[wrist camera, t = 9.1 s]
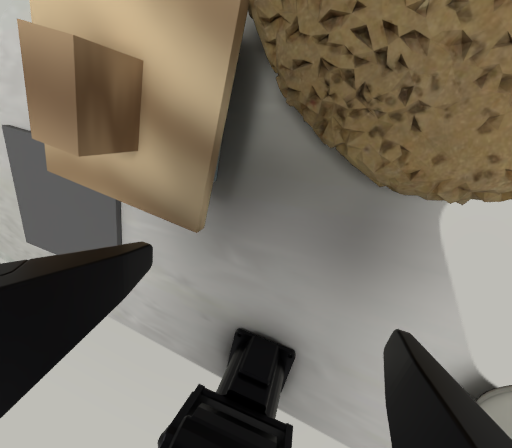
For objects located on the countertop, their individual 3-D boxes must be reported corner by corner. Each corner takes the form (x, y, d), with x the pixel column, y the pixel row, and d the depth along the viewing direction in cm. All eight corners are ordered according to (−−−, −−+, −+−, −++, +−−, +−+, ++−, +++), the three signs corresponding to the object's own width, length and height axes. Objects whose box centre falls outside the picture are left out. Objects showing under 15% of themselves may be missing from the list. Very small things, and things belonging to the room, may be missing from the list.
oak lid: (204, 227, 17) (157, 261, 13) (60, 168, 19) (-23, 180, 15) (250, -4, 12) (197, -88, 7) (43, -50, 14) (-96, -136, 9)
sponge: (232, -21, 17) (335, 249, 17) (169, -209, 9) (359, 289, 9) (438, -153, 14) (560, 175, 14) (602, -595, 6) (867, 143, 6)
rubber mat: (122, 277, 28) (118, 279, 28) (31, 240, 31) (26, 242, 31) (119, 157, 23) (114, 158, 22) (8, 124, 25) (1, 124, 25)
